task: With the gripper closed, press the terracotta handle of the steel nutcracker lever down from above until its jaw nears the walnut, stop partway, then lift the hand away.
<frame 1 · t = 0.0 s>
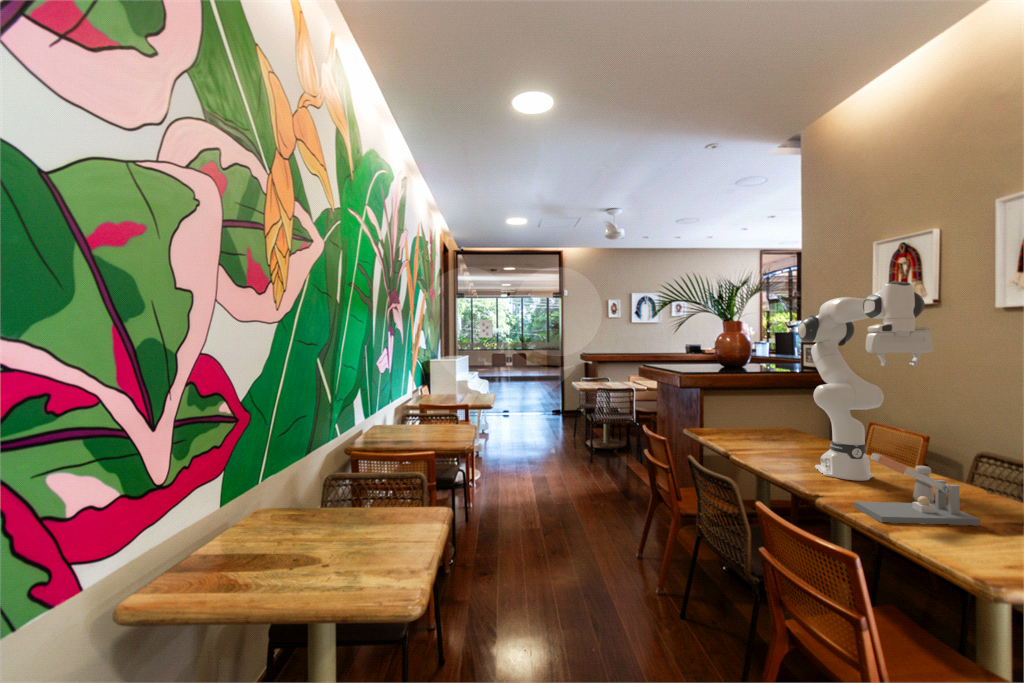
hand: (899, 365, 169), 48 cm above the table, tool pointing down, fingers open, 8 cm apart
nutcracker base: (913, 516, 154), on the table
lever: (912, 474, 154), point 14 cm above the table, hinge at 25.0°
salt shaker: (923, 504, 166), on the table
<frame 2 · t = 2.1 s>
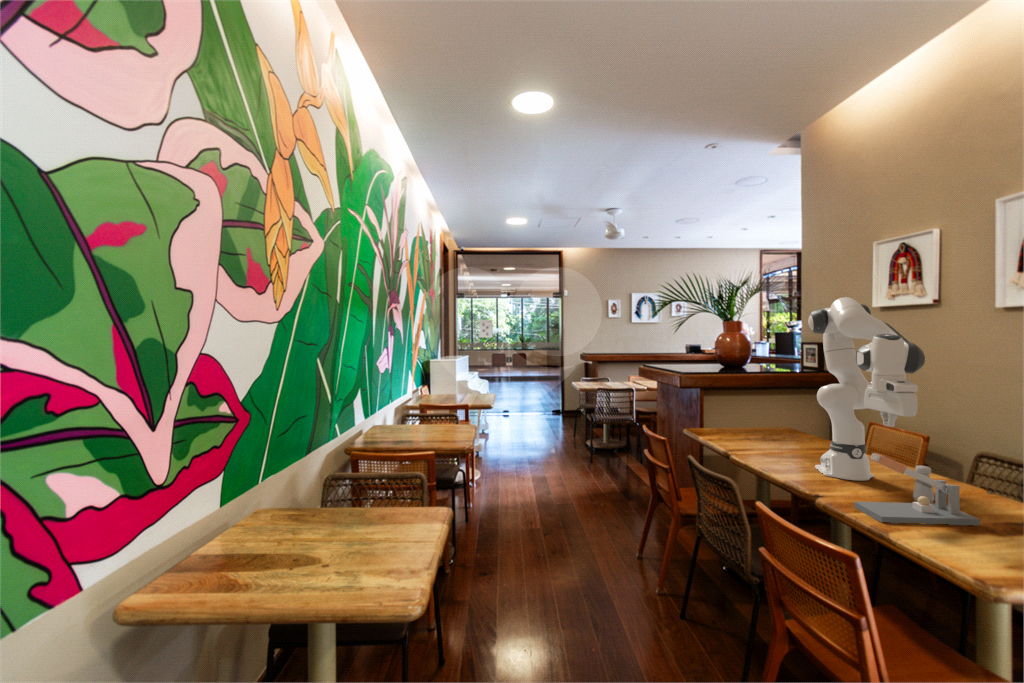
hand: (888, 426, 155), 29 cm above the table, tool pointing down, fingers closed
nothing on the table moved.
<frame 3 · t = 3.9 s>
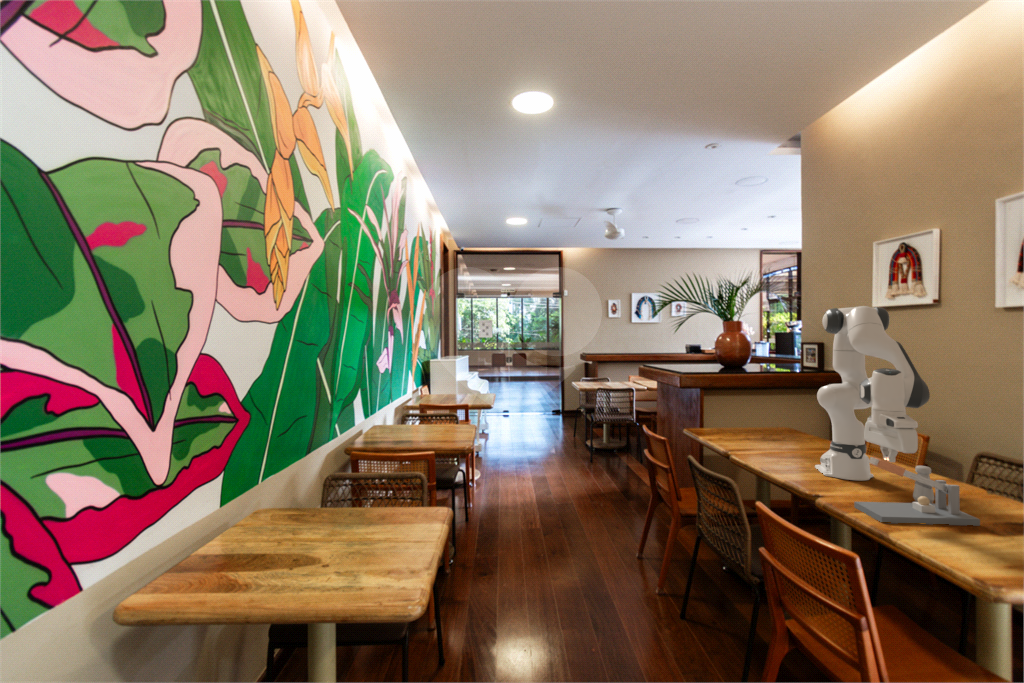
hand: (889, 461, 155), 18 cm above the table, tool pointing down, fingers closed, pressing on lever
lever: (911, 476, 154), point 13 cm above the table, hinge at 21.5°, touching gripper
everything else where it was.
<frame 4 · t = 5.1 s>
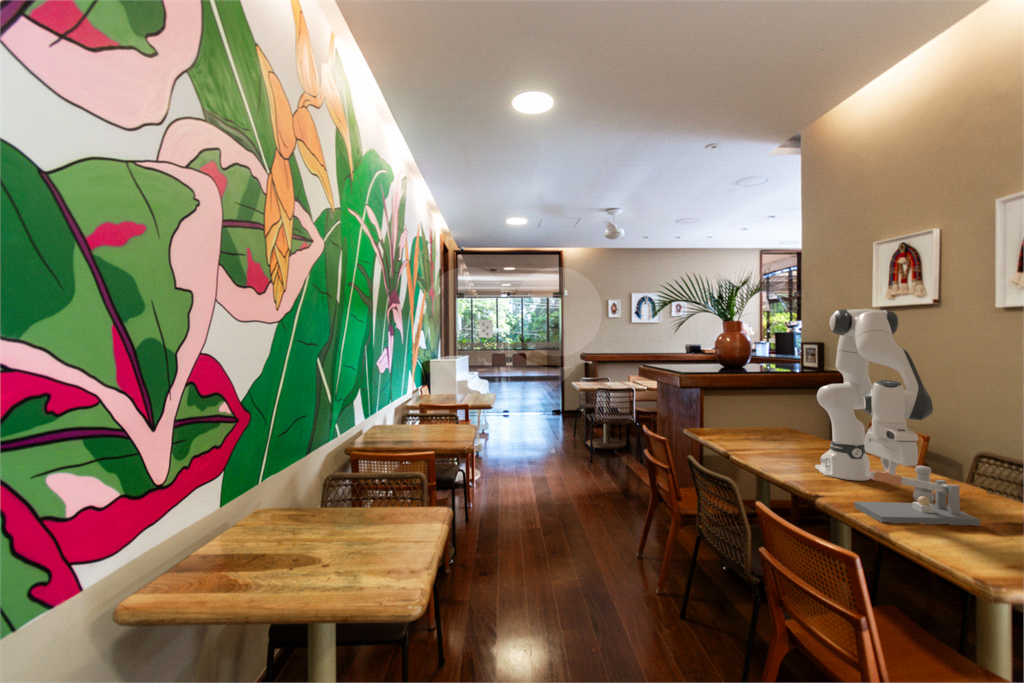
hand: (889, 473, 155), 14 cm above the table, tool pointing down, fingers closed, pressing on lever
lever: (909, 482, 154), point 11 cm above the table, hinge at 10.8°, touching gripper
everything else where it was.
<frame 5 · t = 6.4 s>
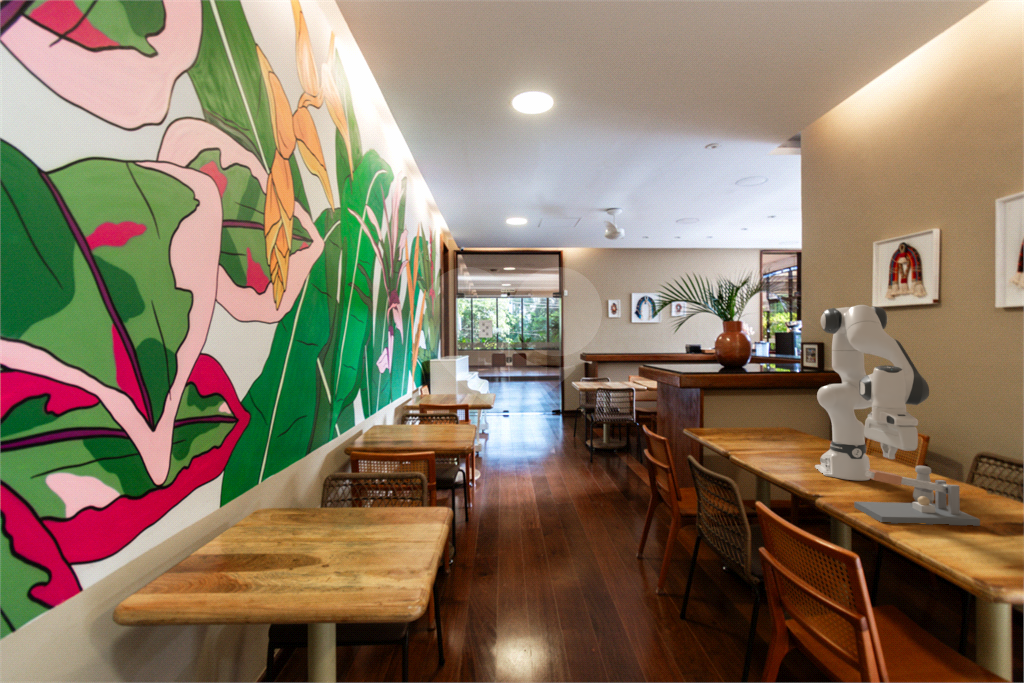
hand: (888, 458, 155), 19 cm above the table, tool pointing down, fingers closed
lever: (909, 482, 154), point 11 cm above the table, hinge at 10.7°
everything else where it was.
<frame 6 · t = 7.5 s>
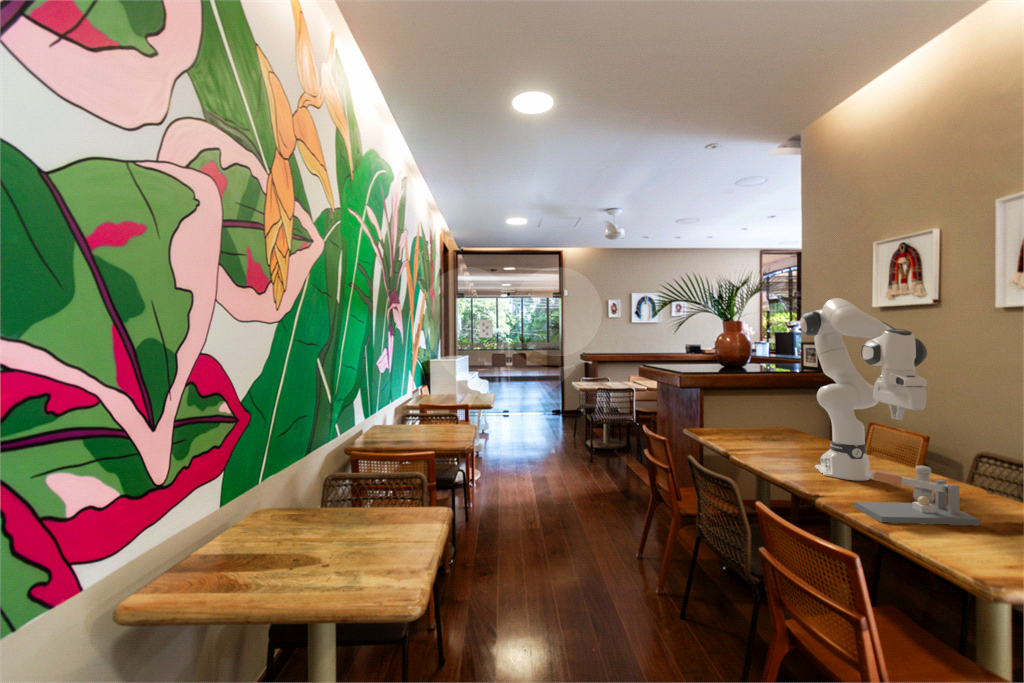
hand: (897, 419, 159), 31 cm above the table, tool pointing down, fingers closed
nothing on the table moved.
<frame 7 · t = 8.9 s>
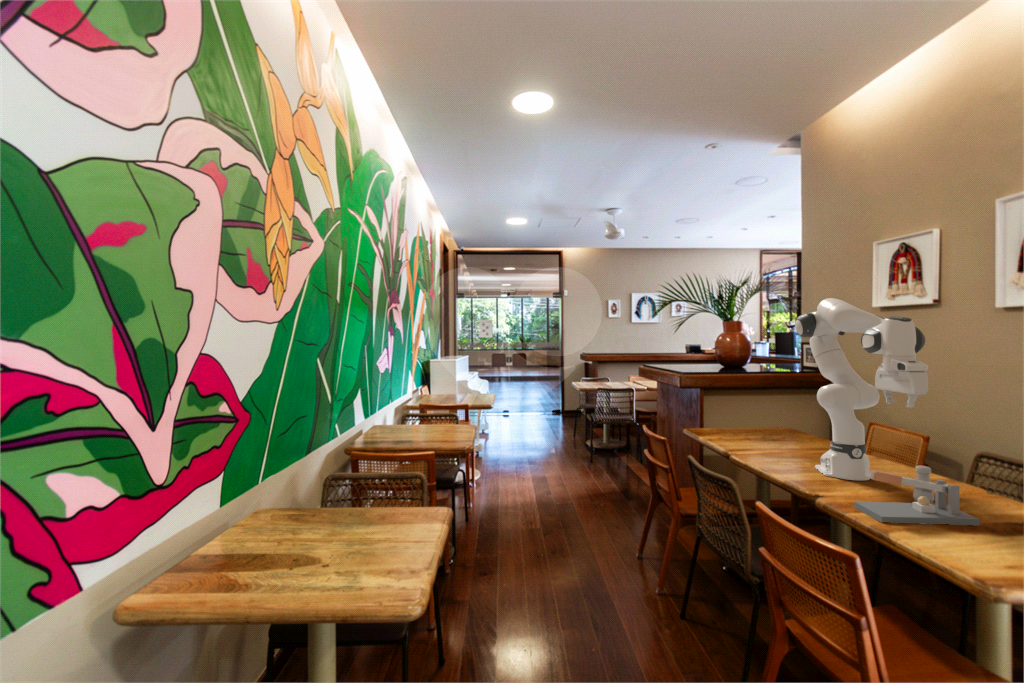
hand: (899, 405, 160), 35 cm above the table, tool pointing down, fingers open, 8 cm apart
nothing on the table moved.
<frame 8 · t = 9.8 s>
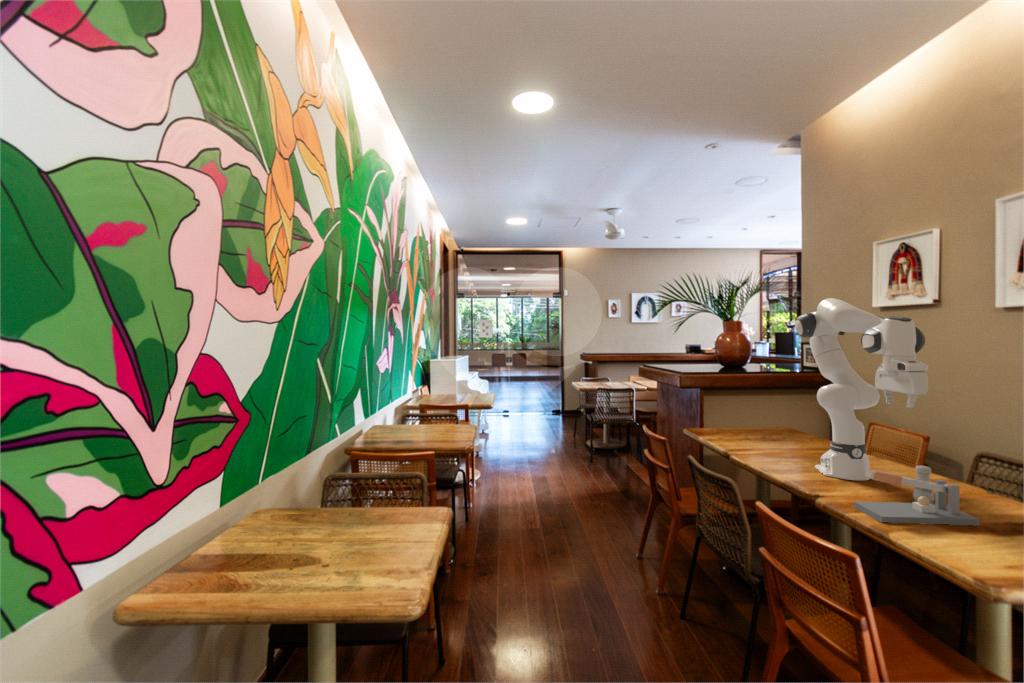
hand: (899, 405, 160), 35 cm above the table, tool pointing down, fingers open, 8 cm apart
nothing on the table moved.
at the end: lever at +11° (first picture: +25°); the gripper is holding nothing; salt shaker moved 0.2 cm from its start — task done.
